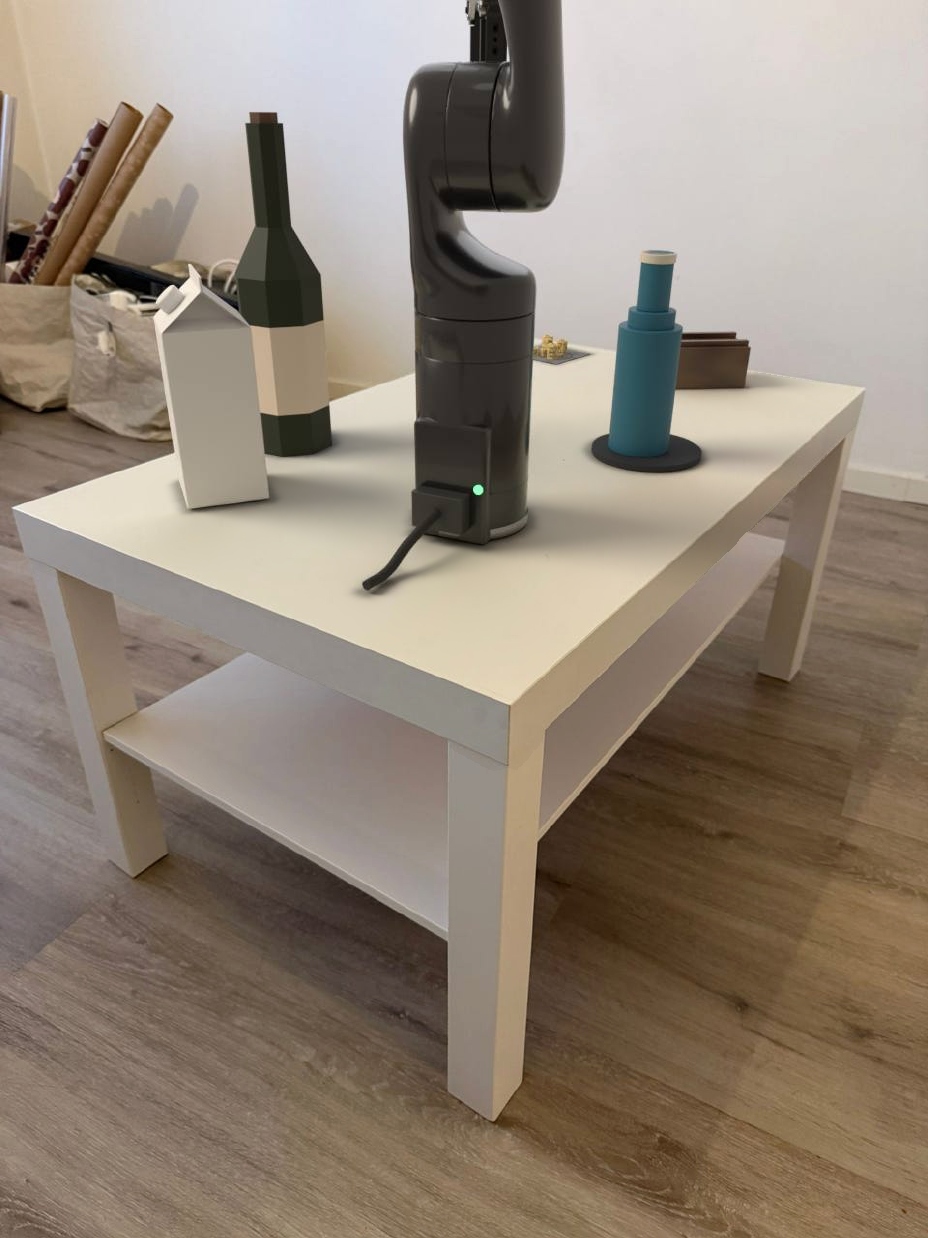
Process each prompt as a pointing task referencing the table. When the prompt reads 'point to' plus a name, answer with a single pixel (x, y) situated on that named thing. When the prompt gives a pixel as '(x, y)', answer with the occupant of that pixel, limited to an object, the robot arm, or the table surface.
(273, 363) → the wine bottle
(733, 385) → the cradle
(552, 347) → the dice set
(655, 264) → the bottle
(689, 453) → the coaster
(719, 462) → the table surface
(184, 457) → the milk carton
